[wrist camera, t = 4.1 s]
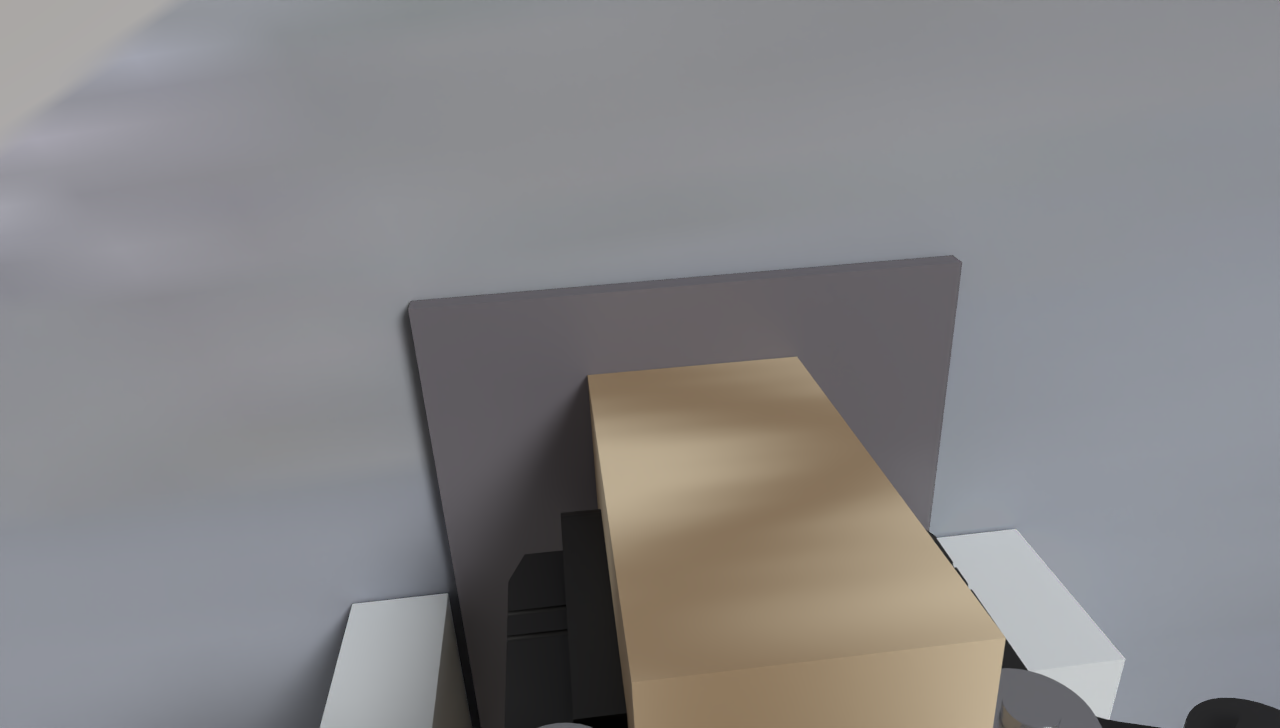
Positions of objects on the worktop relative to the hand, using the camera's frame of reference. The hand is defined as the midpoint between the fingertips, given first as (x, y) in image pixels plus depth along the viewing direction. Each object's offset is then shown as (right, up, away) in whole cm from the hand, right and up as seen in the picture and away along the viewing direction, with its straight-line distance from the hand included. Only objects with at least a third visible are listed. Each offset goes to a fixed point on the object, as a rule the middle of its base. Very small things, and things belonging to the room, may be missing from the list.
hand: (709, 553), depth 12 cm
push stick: (0, -2, +2) cm, 3 cm away
